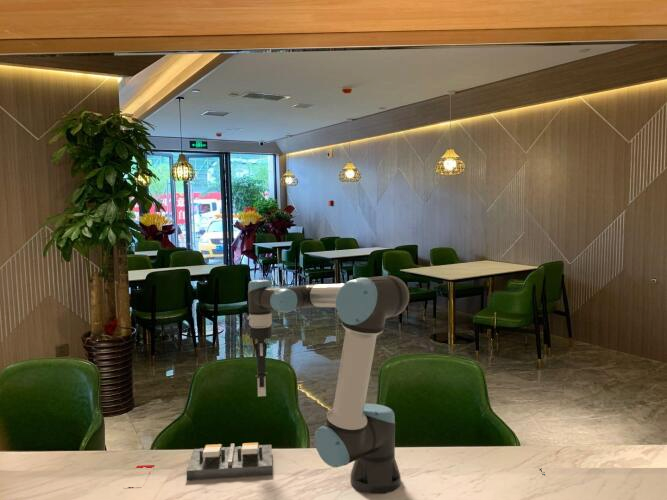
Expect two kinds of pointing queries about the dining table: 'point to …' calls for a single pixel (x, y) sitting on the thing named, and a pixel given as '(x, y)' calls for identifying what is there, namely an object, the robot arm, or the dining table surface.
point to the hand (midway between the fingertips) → (261, 395)
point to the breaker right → (250, 448)
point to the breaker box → (230, 463)
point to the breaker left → (212, 450)
